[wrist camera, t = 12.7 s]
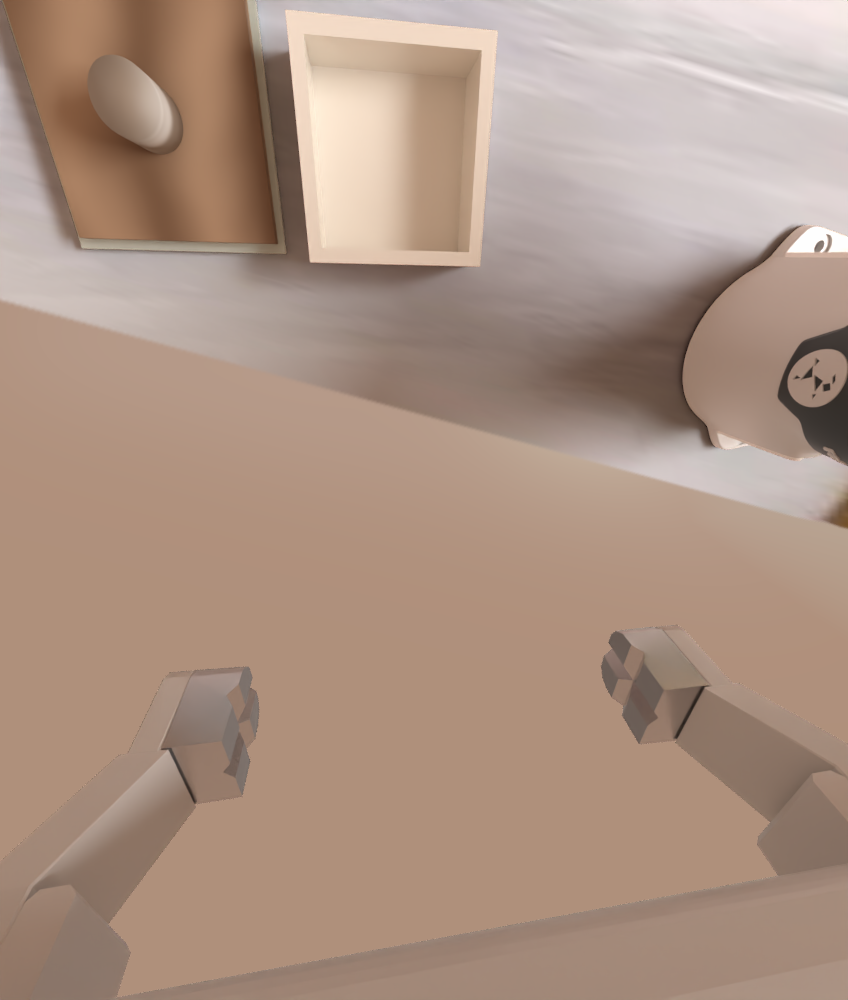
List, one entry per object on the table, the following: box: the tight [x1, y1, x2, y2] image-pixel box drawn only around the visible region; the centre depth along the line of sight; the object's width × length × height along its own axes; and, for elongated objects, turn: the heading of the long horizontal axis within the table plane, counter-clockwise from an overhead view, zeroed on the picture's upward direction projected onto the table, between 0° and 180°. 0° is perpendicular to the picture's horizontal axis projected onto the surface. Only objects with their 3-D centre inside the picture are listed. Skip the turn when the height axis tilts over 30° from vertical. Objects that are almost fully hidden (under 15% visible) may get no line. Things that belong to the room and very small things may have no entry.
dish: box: [285, 10, 498, 267], centre depth 26 cm, size 11×11×4 cm
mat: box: [2, 0, 287, 254], centre depth 25 cm, size 13×13×1 cm
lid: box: [3, 0, 278, 244], centre depth 23 cm, size 12×12×4 cm
